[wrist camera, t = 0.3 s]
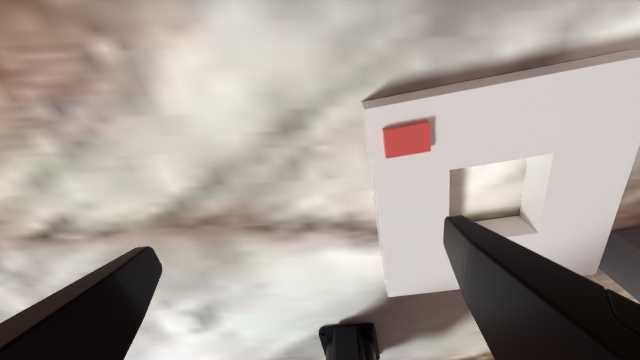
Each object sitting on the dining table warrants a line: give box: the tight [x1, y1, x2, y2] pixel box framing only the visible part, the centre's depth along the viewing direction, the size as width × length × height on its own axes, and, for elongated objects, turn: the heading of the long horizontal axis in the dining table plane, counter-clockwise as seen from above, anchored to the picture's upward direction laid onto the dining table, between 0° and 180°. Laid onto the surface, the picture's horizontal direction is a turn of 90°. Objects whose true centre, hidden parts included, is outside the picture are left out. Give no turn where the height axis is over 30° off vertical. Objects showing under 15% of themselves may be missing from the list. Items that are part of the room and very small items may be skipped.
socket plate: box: [361, 50, 640, 297], centre depth 22 cm, size 18×18×3 cm
